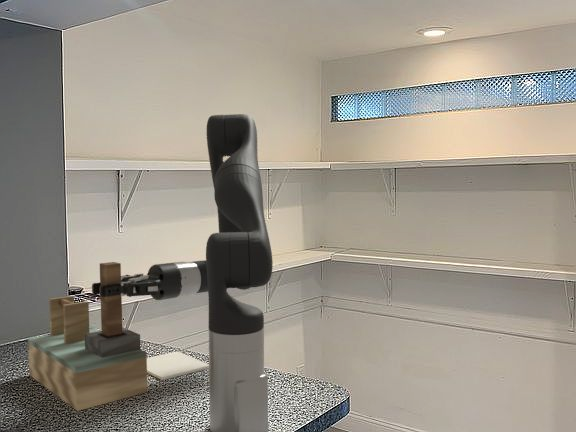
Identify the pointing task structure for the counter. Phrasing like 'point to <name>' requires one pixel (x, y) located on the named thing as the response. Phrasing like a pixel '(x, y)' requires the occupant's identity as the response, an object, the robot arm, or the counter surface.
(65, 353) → the wooden socket fixture
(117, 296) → the walnut key
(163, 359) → the mat
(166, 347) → the counter surface
